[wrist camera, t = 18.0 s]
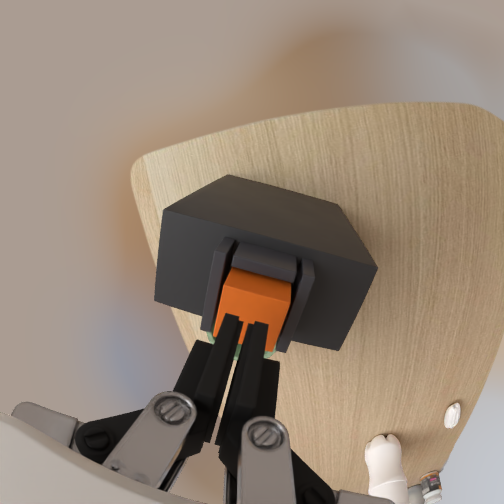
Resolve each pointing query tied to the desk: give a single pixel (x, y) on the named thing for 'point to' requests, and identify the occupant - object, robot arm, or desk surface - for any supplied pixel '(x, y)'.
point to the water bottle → (386, 469)
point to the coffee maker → (265, 256)
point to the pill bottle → (431, 487)
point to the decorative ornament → (416, 495)
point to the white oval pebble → (452, 415)
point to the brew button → (255, 302)
